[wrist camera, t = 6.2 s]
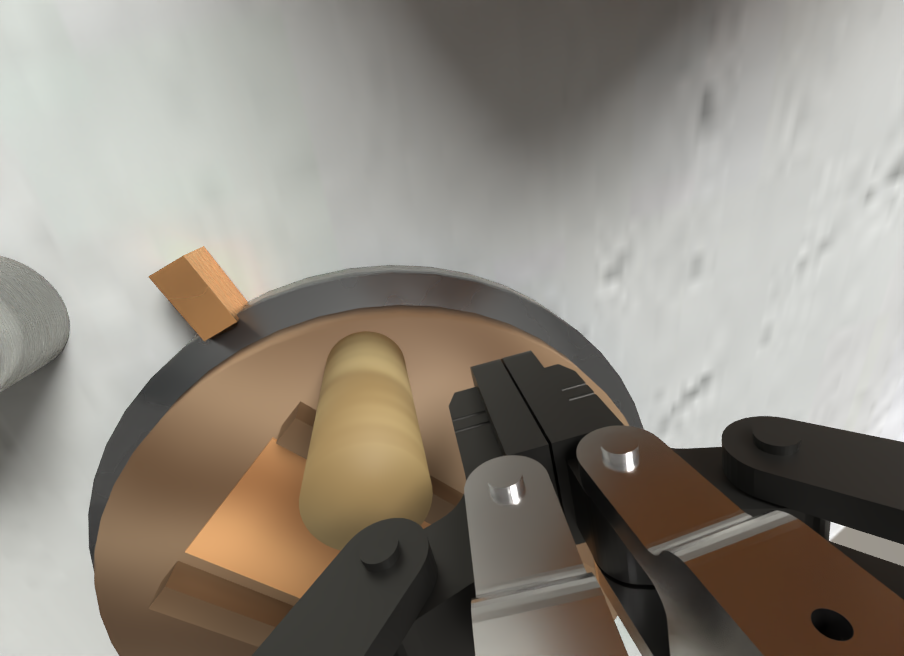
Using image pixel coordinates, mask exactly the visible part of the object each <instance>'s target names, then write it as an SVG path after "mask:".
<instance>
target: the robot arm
mask: <svg viewBox="0 0 904 656" xmlns="http://www.w3.org/2000/svg"><path fill="white" fill-rule="evenodd" d="M470 369H471V374H472V378H473V383H474V387H473V388H469V389H466V390H462V391H458V392H455V393H454V395H453V397H452V399H451V402H450V404H449V410H450V415H451V419H452V423H453V427H454V431H455V435H456V439H457V443H458V448H459V452H460V456H461V460H462V464H463V468H464V472H465V476H466V483H465V487H464V495H463V497H462V499H461V500H460V502H459V503H458V504H457V506H456V507H455V508H454V509H453V510H452V511H451V512H449V513H448V514H447V515H446V516H444V517H443V518H441V519H440V520H438V521H436V522H435V523H433V524H431V525H430V526H428V527H426V528H424V529H423V528H422V527H421V526H420V525H419V524H418V523H416V522H414V521H412V520H409V519H405V518H390V519H385V520H381V521H378V522H376V523H373V524H371V525H369V526H368V527H366V528H364V529H363V530H361V531H360V532H359V533H357V534H356V535H355V536H354V537H353V538H352V539H351V540H350V541H349V542H348V543H347V544H346V545H345V547H344V548H343V549H342V550H341V551H340V552H339V554H338V555H337V556H336V557H335V558H334V559H333V561H332V562H331V563H330V564H329V565H328V567H327V568H326V569H325V570H324V571H323V572H322V574H321V575H320V576H319V577H318V578H317V579H316V581H315V582H314V583H313V584H312V585H311V586H310V588H309V589H308V590H307V591H306V592H305V594H304V595H303V596H302V597H301V598H300V599H299V601H298V602H297V603H296V604H295V605H294V606H293V608H292V609H291V610H290V611H289V612H288V614H287V615H286V616H285V617H284V618H283V619H282V621H281V622H280V623H279V624H278V625H277V626H276V628H275V629H274V630H273V631H272V632H271V634H270V635H269V636H268V637H267V638H266V639H265V641H264V642H263V643H262V644H261V645H260V646H259V648H258V649H257V650H256V651H255V652H254V653H253V655H252V656H628V654H627V651H626V649H625V646H624V644H623V641H622V639H621V636H620V634H619V631H618V629H617V626H616V624H615V622H614V619H613V617H612V614H611V612H610V609H609V607H608V604H607V602H606V599H605V597H604V595H603V592H602V590H601V588H602V589H603V591H604V593H605V594H606V596H607V598H608V599H609V601H610V603H611V604H612V606H613V608H614V609H615V611H616V613H617V614H618V616H619V618H620V619H621V621H622V623H623V624H624V626H625V628H626V629H627V631H628V633H629V634H630V636H631V638H632V639H633V641H634V643H635V644H636V646H637V648H638V650H639V651H640V653H641V655H642V656H904V567H903V566H900V565H897V564H894V563H892V562H889V561H886V560H883V559H880V558H877V557H874V556H871V555H868V554H865V553H862V552H859V551H856V550H854V549H851V548H848V547H845V546H842V545H839V544H836V543H833V542H830V541H829V532H830V521H831V522H834V523H837V524H840V525H843V526H846V527H850V528H853V529H856V530H859V531H862V532H865V533H869V534H872V535H875V536H878V537H881V538H884V539H888V540H891V541H894V542H897V543H900V544H903V545H904V442H900V441H895V440H890V439H885V438H880V437H875V436H870V435H865V434H860V433H855V432H850V431H846V430H841V429H836V428H831V427H826V426H821V425H816V424H811V423H806V422H801V421H796V420H791V419H786V418H780V417H770V416H758V417H749V418H744V419H741V420H738V421H735V422H733V423H731V424H730V425H729V426H727V427H726V429H725V430H724V431H723V434H722V447H711V448H691V449H675V448H670V447H668V446H667V445H666V444H665V443H664V442H663V441H662V440H660V439H659V438H658V437H657V436H655V435H654V434H652V433H650V432H648V431H646V430H643V429H641V428H637V427H632V426H624V424H623V423H622V422H621V421H620V420H619V419H618V418H617V417H616V416H615V414H614V413H613V412H612V411H611V410H610V409H609V408H608V407H607V406H606V405H605V403H604V402H603V401H602V400H601V399H600V398H599V397H598V396H597V395H596V394H594V391H593V390H592V389H591V388H590V387H589V386H588V385H586V383H585V381H584V380H583V379H582V378H581V377H580V376H579V375H578V373H577V372H576V371H574V370H572V369H569V368H567V367H564V366H562V365H560V364H556V365H553V366H549V367H545V368H544V367H543V365H542V364H541V363H540V361H539V360H538V359H537V357H536V356H535V355H534V353H533V352H532V351H531V350H530V351H526V352H523V353H519V354H515V355H512V356H508V357H504V358H501V360H500V359H498V360H494V361H490V362H487V363H483V364H479V365H476V366H472V367H470ZM585 542H586V544H587V546H588V548H589V550H590V551H591V553H592V555H593V560H594V567H595V573H596V577H597V579H596V577H595V576H594V574H593V573H592V572H590V573H587V572H586V570H585V567H584V565H583V562H582V560H581V557H580V555H579V552H578V549H577V547H576V545H578V544H582V543H585ZM597 580H598V581H597ZM598 582H599V583H598ZM599 584H600V585H599ZM600 586H601V587H600Z"/></svg>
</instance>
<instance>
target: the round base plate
mask: <svg viewBox="0 0 904 656" xmlns="http://www.w3.org/2000/svg"><path fill="white" fill-rule="evenodd" d="M149 278H150V279H151V280H152V282H153V283H154V284H155V285H156V286H157V287H158V289H159V290H160V291H161V292H162V293H163V294H164V295H165V297H166V298H167V299H168V300H169V301H170V302H171V304H172V305H173V306H174V307H175V308H176V309H177V311H178V312H179V313H180V314H181V315H182V316H183V317H184V319H185V320H186V321H187V322H188V323H189V324H190V326H191V327H192V328H193V329H194V330H195V331H196V333H197V334H198V335H197V336H195V337H194V338H193V339H192V340H191V341H190V342H189V343H188V344H187V345H186V346H185V347H184V348H183V349H182V350H180V351H179V352H178V353H177V354H176V355H175V356H174V357H173V358H172V359H171V360H170V361H169V362H168V363H167V364H166V365H164V366H163V367H162V368H161V369H160V370H159V371H158V372H157V373H156V374H155V375H154V376H153V377H152V378H151V379H150V380H149V382H148V383H147V384H146V385H145V387H144V388H143V389H142V390H141V392H140V393H139V394H138V396H137V397H136V398H135V399H134V401H133V402H132V403H131V404H130V406H129V407H128V408H127V409H126V411H125V412H124V414H123V416H122V418H121V419H120V421H119V423H118V425H117V427H116V428H115V430H114V432H113V434H112V436H111V437H110V439H109V441H108V443H107V444H106V447H105V450H104V453H103V456H102V458H101V461H100V464H99V467H98V470H97V473H96V475H95V478H94V483H93V489H92V495H91V501H90V507H89V514H88V520H89V549H90V554H91V559H92V563H93V568H94V552H95V547H96V541H97V536H98V531H99V526H100V521H101V517H102V514H103V512H104V509H105V507H106V504H107V501H108V499H109V496H110V494H111V491H112V489H113V486H114V484H115V482H116V480H117V479H118V477H119V475H120V474H121V472H122V470H123V469H124V467H125V465H126V464H127V462H128V460H129V459H130V457H131V455H132V454H133V452H134V451H135V450H136V448H137V447H138V446H139V445H140V443H141V442H142V441H143V440H144V439H145V437H146V436H147V435H148V434H149V433H150V431H151V430H152V429H153V428H154V427H155V425H156V424H157V423H158V422H159V421H160V419H161V418H162V417H163V416H164V415H165V413H166V412H167V411H168V410H169V409H170V407H171V406H172V405H173V404H174V403H175V402H176V400H177V399H178V398H179V397H180V396H181V395H182V394H183V393H184V392H185V391H186V390H188V389H189V388H190V387H191V386H192V385H193V384H194V383H195V382H197V381H198V380H199V379H200V378H201V377H202V376H203V375H204V374H206V373H207V372H208V371H209V370H211V369H212V368H214V367H215V366H217V365H218V364H219V363H221V362H222V361H224V360H225V359H227V358H228V357H230V356H231V355H233V354H234V353H236V352H237V351H239V350H240V349H242V348H244V347H246V346H248V345H250V344H252V343H254V342H256V341H258V340H260V339H262V338H264V337H266V336H268V335H270V334H272V333H274V332H276V331H278V330H281V329H284V328H287V327H290V326H292V325H295V324H298V323H301V322H304V321H307V320H310V319H313V318H316V317H319V316H324V315H328V314H333V313H338V312H343V311H347V310H352V309H357V308H367V307H379V306H391V305H415V306H438V307H444V308H449V309H455V310H461V311H467V312H472V313H477V314H480V315H483V316H486V317H489V318H492V319H496V320H499V321H502V322H505V323H508V324H510V325H513V326H515V327H517V328H519V329H521V330H523V331H525V332H527V333H529V334H531V335H534V336H536V337H538V338H539V339H541V340H542V341H544V342H545V343H547V344H548V345H550V346H551V347H553V348H554V349H556V350H557V351H559V352H560V353H562V354H563V355H565V356H566V357H567V358H568V359H569V360H570V361H571V362H572V363H574V364H575V365H576V366H577V367H578V368H579V369H580V370H581V371H582V372H583V373H585V374H586V375H587V376H588V377H589V378H590V379H591V380H592V381H593V382H594V383H595V384H596V385H598V386H599V387H600V388H601V389H602V390H603V391H604V392H605V393H606V394H607V395H608V396H609V398H610V399H611V400H612V402H613V403H614V404H615V405H616V407H617V408H618V409H619V410H620V412H621V413H622V414H623V416H624V417H625V419H626V421H627V422H628V424H629V426H632V427H637V428H641V429H643V426H642V423H641V420H640V418H639V415H638V412H637V409H636V406H635V403H634V401H633V400H632V398H631V396H630V394H629V392H628V390H627V389H626V387H625V385H624V383H623V381H622V380H621V378H620V376H619V375H618V374H617V372H616V371H615V370H614V369H613V367H612V366H611V365H610V363H609V362H608V361H607V360H606V358H605V357H604V356H603V354H602V353H601V352H600V351H599V350H598V349H597V348H596V347H594V346H593V345H592V344H591V343H590V342H589V341H588V340H587V339H586V338H585V337H584V336H583V335H582V334H581V333H579V332H578V331H577V330H576V329H575V328H573V327H572V326H571V325H569V324H568V323H567V322H565V321H564V320H562V319H561V318H560V317H558V316H557V315H555V314H554V313H552V312H551V311H549V310H548V309H546V308H545V307H543V306H542V305H541V304H539V303H538V302H536V301H535V300H533V299H531V298H529V297H527V296H525V295H523V294H521V293H519V292H516V291H514V290H512V289H510V288H508V287H506V286H504V285H502V284H499V283H495V282H492V281H489V280H486V279H483V278H480V277H477V276H474V275H471V274H467V273H462V272H456V271H450V270H445V269H439V268H434V267H421V266H399V265H386V266H374V267H362V268H350V269H345V270H341V271H336V272H331V273H327V274H322V275H317V276H313V277H308V278H306V279H303V280H300V281H297V282H294V283H291V284H289V285H286V286H283V287H280V288H277V289H274V290H272V291H269V292H267V293H265V294H263V295H261V296H259V297H257V298H255V299H253V300H251V301H249V302H247V301H246V299H245V298H244V297H243V296H242V294H241V293H240V292H239V290H238V289H237V288H236V287H235V285H234V284H233V283H232V282H231V280H230V279H229V278H228V276H227V275H226V274H225V273H224V271H223V270H222V269H221V268H220V266H219V265H218V264H217V262H216V261H215V260H214V259H213V257H212V256H211V255H210V254H209V252H208V251H207V250H206V248H205V247H204V246H203V247H201V248H199V249H197V250H195V251H193V252H190V253H188V254H186V255H184V256H182V257H180V258H179V259H177V260H175V261H174V262H172V263H170V264H169V265H167V266H165V267H164V268H162V269H160V270H159V271H157V272H155V273H154V274H152V275H150V276H149ZM643 430H644V429H643Z"/></svg>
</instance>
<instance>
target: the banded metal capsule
mask: <svg viewBox="0 0 904 656" xmlns="http://www.w3.org/2000/svg"><path fill="white" fill-rule="evenodd" d="M69 329H70V328H69V317H68V312H67V310H66V307H65V304H64V302H63V300H62V298H61V297H60V295H59V294H58V292H57V291H56V290H55V289H54V287H53V286H52V285H51V284H50V283H49V282H48V281H47V280H46V279H45V278H44V277H42V276H41V275H40V274H38V273H37V272H36V271H34V270H33V269H31V268H29V267H28V266H26V265H24V264H22V263H20V262H18V261H15V260H12V259H9V258H6V257H3V256H0V392H1V391H3V390H5V389H6V388H8V387H10V386H11V385H13V384H15V383H16V382H18V381H20V380H21V379H23V378H25V377H26V376H28V375H30V374H31V373H33V372H35V371H36V370H38V369H40V368H41V367H43V366H45V365H46V364H48V363H49V362H51V361H52V360H53V359H55V358H56V357H57V356H58V355H59V354H60V352H61V351H62V350H63V348H64V346H65V344H66V342H67V339H68V336H69Z"/></svg>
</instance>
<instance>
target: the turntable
mask: <svg viewBox="0 0 904 656" xmlns="http://www.w3.org/2000/svg"><path fill="white" fill-rule="evenodd" d="M530 350H531V351H532V352H533V353H534V355H535V356H536V357H537V359H538V360H539V361H540V363H541V364H542V365H543V367H544V368H545V367H549V366H553V365H556V364H560V365H562V366H564V367H567V368H569V369H572V370H574V371H576V372H577V373H578V375H579V376H580V377H581V378H582V379H583V380H584V381H585V383H586V385H588V386H589V387H590V388H591V389H592V390H593V391H594V394H596V395H597V396H598V397H599V398H600V399H601V400H602V401H603V402H604V403H605V405H606V406H607V407H608V408H609V409H610V410H611V411H612V412H613V413H614V414H615V416H616V417H617V418H618V419H619V420H620V421H621V422H622V423H623V424H624V426H629V424H628V422H627V421H626V419H625V417H624V416H623V414H622V413H621V412H620V410H619V409H618V408H617V407H616V405H615V404H614V403H613V402H612V400H611V399H610V398H609V396H608V395H607V394H606V393H605V392H604V391H603V390H602V389H601V388H600V387H599V386H598V385H596V384H595V383H594V382H593V381H592V380H591V379H590V378H589V377H588V376H587V375H586V374H585V373H583V372H582V371H581V370H580V369H579V368H578V367H577V366H576V365H575V364H574V363H572V362H571V361H570V360H569V359H568V358H567V357H566V356H565V355H563V354H562V353H560V352H559V351H557V350H556V349H554V348H553V347H551V346H550V345H548V344H547V343H545V342H544V341H542V340H541V339H539V338H538V337H536V336H534V335H531V334H529V333H527V332H525V331H523V330H521V329H519V328H517V327H515V326H513V325H510V324H508V323H505V322H502V321H499V320H496V319H492V318H489V317H486V316H483V315H480V314H477V313H472V312H467V311H461V310H455V309H449V308H444V307H438V306H415V305H391V306H379V307H367V308H357V309H352V310H347V311H343V312H338V313H333V314H328V315H324V316H319V317H316V318H313V319H310V320H307V321H304V322H301V323H298V324H295V325H292V326H290V327H287V328H284V329H281V330H278V331H276V332H274V333H272V334H270V335H268V336H266V337H264V338H262V339H260V340H258V341H256V342H254V343H252V344H250V345H248V346H246V347H244V348H242V349H240V350H239V351H237V352H236V353H234V354H233V355H231V356H230V357H228V358H227V359H225V360H224V361H222V362H221V363H219V364H218V365H217V366H215V367H214V368H212V369H211V370H209V371H208V372H207V373H206V374H204V375H203V376H202V377H201V378H200V379H199V380H198V381H197V382H195V383H194V384H193V385H192V386H191V387H190V388H189V389H188V390H186V391H185V392H184V393H183V394H182V395H181V396H180V397H179V398H178V399H177V400H176V402H175V403H174V404H173V405H172V406H171V407H170V409H169V410H168V411H167V412H166V413H165V415H164V416H163V417H162V418H161V419H160V421H159V422H158V423H157V424H156V425H155V427H154V428H153V429H152V430H151V431H150V433H149V434H148V435H147V436H146V437H145V439H144V440H143V441H142V442H141V443H140V445H139V446H138V447H137V448H136V450H135V451H134V452H133V454H132V455H131V457H130V459H129V460H128V462H127V464H126V465H125V467H124V469H123V470H122V472H121V474H120V475H119V477H118V479H117V480H116V482H115V484H114V486H113V489H112V491H111V494H110V496H109V499H108V501H107V504H106V507H105V509H104V512H103V514H102V517H101V521H100V526H99V531H98V536H97V541H96V547H95V552H94V584H95V590H96V595H97V600H98V605H99V610H100V615H101V618H102V620H103V623H104V625H105V628H106V630H107V633H108V635H109V638H110V640H111V643H112V644H113V646H114V648H115V649H116V651H117V652H118V654H119V656H252V655H253V653H254V652H255V651H256V650H257V649H258V648H259V646H260V645H261V644H262V643H263V642H264V641H265V639H266V638H267V637H268V636H269V635H270V634H271V632H272V631H273V630H274V629H275V628H276V626H277V625H278V624H279V623H280V622H281V621H282V619H283V618H284V617H285V616H286V615H287V614H288V612H289V611H290V610H291V609H292V608H293V606H294V605H295V604H296V603H297V602H298V601H299V599H300V598H301V597H302V596H303V595H304V594H305V592H306V591H307V590H308V589H309V588H310V586H311V585H312V584H313V583H314V582H315V581H316V579H317V578H318V577H319V576H320V575H321V574H322V572H323V571H324V570H325V569H326V568H327V567H328V565H329V564H330V563H331V562H332V561H333V559H334V558H335V557H336V556H337V555H338V554H339V552H340V551H341V550H342V549H343V548H344V547H345V545H346V544H347V543H348V542H349V541H350V540H351V539H352V538H353V537H354V536H355V535H356V534H357V533H359V532H360V531H361V530H363V529H364V528H366V527H368V526H369V525H371V524H373V523H376V522H378V521H381V520H385V519H390V518H405V519H409V520H412V521H414V522H416V523H418V524H419V525H420V526H421V527H422V528H423V529H424V528H426V527H428V526H430V525H431V524H433V523H435V522H436V521H438V520H440V519H441V518H443V517H444V516H446V515H447V514H448V513H449V512H451V511H452V510H453V509H454V508H455V507H456V506H457V504H458V503H459V502H460V500H461V499H462V497H463V495H464V487H465V483H466V476H465V472H464V468H463V464H462V460H461V456H460V452H459V448H458V443H457V439H456V435H455V431H454V427H453V423H452V419H451V415H450V410H449V404H450V402H451V399H452V397H453V395H454V393H455V392H458V391H462V390H466V389H469V388H473V387H474V383H473V378H472V374H471V369H470V367H472V366H476V365H479V364H483V363H487V362H490V361H494V360H498V359H500V360H501V358H504V357H508V356H512V355H515V354H519V353H523V352H526V351H530ZM576 547H577V549H578V552H579V555H580V557H581V560H582V562H583V565H584V567H585V570H586V572H587V573H590V572H592V573H593V574H594V576H595V577H596V573H595V567H594V560H593V555H592V553H591V551H590V550H589V548H588V546H587V544H586V542H585V543H582V544H578V545H576ZM596 579H597V577H596ZM597 581H598V580H597ZM598 583H599V582H598ZM599 585H600V584H599ZM600 587H601V586H600ZM601 590H602V592H603V595H604V597H605V599H606V602H607V604H608V607H609V609H610V612H611V614H612V617H613V619H614V620H615V618H616V617H617V615H618V614H617V613H616V611H615V609H614V608H613V606H612V604H611V603H610V601H609V599H608V598H607V596H606V594H605V593H604V591H603V589H602V588H601Z"/></svg>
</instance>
